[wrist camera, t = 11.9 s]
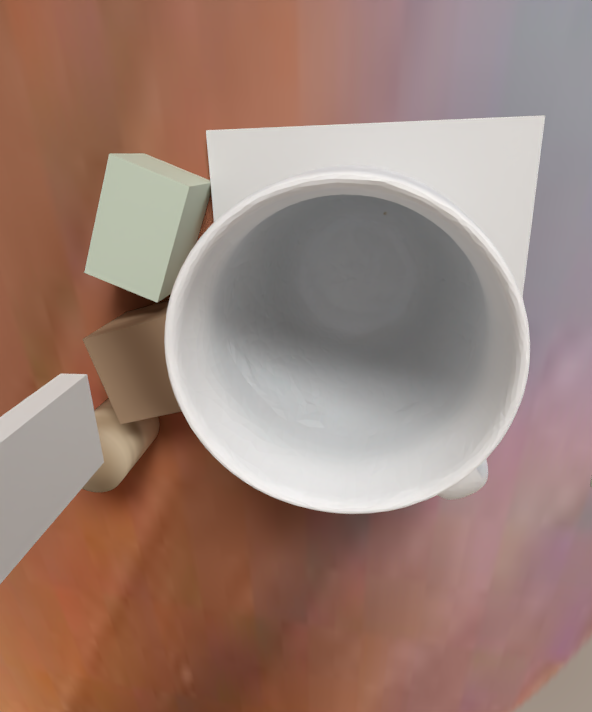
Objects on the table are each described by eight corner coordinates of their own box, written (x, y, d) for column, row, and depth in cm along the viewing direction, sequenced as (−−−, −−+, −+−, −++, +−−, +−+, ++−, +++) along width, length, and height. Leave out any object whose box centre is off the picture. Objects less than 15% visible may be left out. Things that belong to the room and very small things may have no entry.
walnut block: (157, 386, 33) (120, 424, 28) (126, 311, 31) (82, 339, 27) (230, 369, 32) (204, 406, 27) (202, 291, 30) (169, 316, 25)
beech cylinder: (106, 445, 35) (64, 490, 30) (96, 391, 33) (50, 429, 29) (163, 448, 34) (129, 494, 30) (155, 393, 33) (118, 432, 28)
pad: (233, 411, 32) (230, 415, 32) (209, 130, 27) (205, 130, 26) (503, 422, 30) (505, 427, 29) (541, 116, 24) (545, 115, 24)
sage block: (120, 257, 30) (84, 272, 26) (145, 153, 28) (109, 153, 24) (184, 284, 30) (157, 302, 26) (214, 182, 28) (189, 186, 24)
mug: (546, 353, 28) (673, 509, 16) (373, 451, 31) (368, 639, 19) (383, 110, 25) (385, 70, 13) (213, 250, 28) (89, 322, 16)
